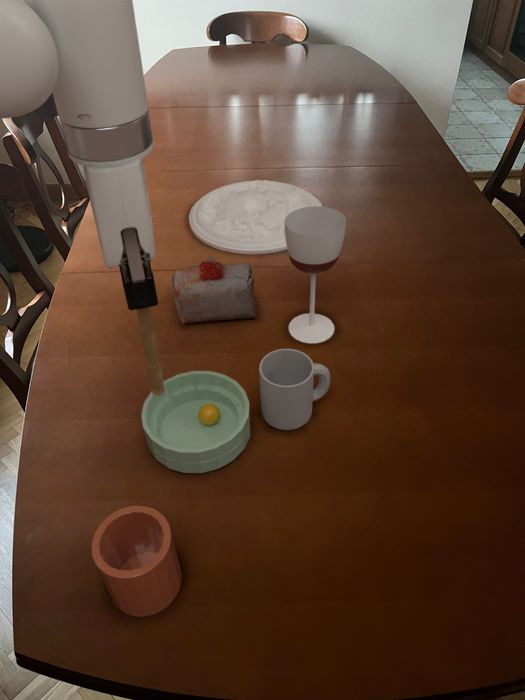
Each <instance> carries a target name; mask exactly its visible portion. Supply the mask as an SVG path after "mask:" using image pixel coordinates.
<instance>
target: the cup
mask: <svg viewBox="0 0 525 700" xmlns="http://www.w3.org/2000/svg"><path fill="white" fill-rule="evenodd" d="M258 371H259V373H258V375H259V393H260V395H259V396H260V411H261V415H262V418H263V420H264V421H265V422H266V423H267V424H268V425H269V426H271V427H273V428H274V429H276V430H277V429H278V430H281V431H292V430H297V429H299V428H301V427H303V426H304V425H305V424H307V423H308V422H309V420H310V419H311V417H312V415H313V402H317V401H318V400H320V399H322V398H323V397H324V396H325V395H326V394H327V393H328V391H329V389H330V386H331V373H330V370H329V368H328V366H325V365H324V364H321V363H314V362H313V360H312V358H311V357H310V356H309V355H307V354H306V353H305V352H303V351H301V350H299V349H293V348H280V349H279V348H278V349H276V350H273V351H271V352H269V353H267V354H265V356H263V358H262V359H261V361H260V363H259V368H258ZM314 376H315V377H316V376H317V377H318V383H317V385H316V386H315V388H314V379H315V377H314Z"/></svg>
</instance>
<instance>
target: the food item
mask: <svg viewBox="0 0 525 700" xmlns="http://www.w3.org/2000/svg"><path fill="white" fill-rule="evenodd" d="M170 284H171V290H172V292H173V299H174V303H175V309H176V312H177V316H178V318H179V320H180V322H181V324H182V325H190V324H197V323H205V322H215V321H232V320H240V319H254V318H255V319H256V318H257V314H258V313H257V305H256V303H257V301H256V298H255V286H254V285H255V279H254V277H253V270H252V264H251V263H250V262H249V263H231V264H222V263H221V262H220V261H216V260H215V259H214V257H213V256H212V255H210V256H209V257H207V259H206V260H204V261H201V262H200V264H194V265H191V266H189V267H183V268H178V269H177V270H176V271H175V273H173V274H172V275H171V278H170Z"/></svg>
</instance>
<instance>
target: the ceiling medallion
mask: <svg viewBox="0 0 525 700" xmlns="http://www.w3.org/2000/svg"><path fill="white" fill-rule="evenodd" d="M312 206H320V207H324V206H323V204H322V203H321V201H320V200H319V199H318V198H317V197H316V196H315V195H314V194H312V193H311V192H309V191H308V190H306V189H304V188H301V187H299V186H297V185H293V184H291V183H286V182H282V181H275V180H267V179H263V180H262V179H261V180H260V179H255V180H246V181H239V182H233V183H229V184H226V185H224V186H220V187H217V188H215V189H213V190H212V191H210V192H208V193H206V194H205V195H203V196H201V197H200V198H199V199H197V201H196V202H195V203H194V204H193V206H192V207H191V209H190V211H189V214H188V222H189V228H190V230H191V232H192V233H193V235H194V236H195V237H196V238H197V239H198V240H199V241H201V242H203V243H204V244H206V245H207V246H210V247H211V248H214V249H217V250H220V251H223V252H227V253H233V254H240V255H265V254H273V253H278V252H279V253H280V252H283V251H286V250H287V251H288V249H287V244H286V238H285V218H286V216H287V215H288V214H289V213H291V212H293V211H295V210H297V209H300V208H304V207H312Z"/></svg>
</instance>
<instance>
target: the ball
mask: <svg viewBox="0 0 525 700" xmlns="http://www.w3.org/2000/svg"><path fill="white" fill-rule="evenodd" d="M219 417H220V412H219V409H218V408H217V407H216V406H215V405H213V404H205V405H203V406H201V408H200V409H199V411H198V418H199V420H200V422H201V423H203V424H204V425H213V424H215V423H216V422H217V421H218V420H219Z"/></svg>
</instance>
